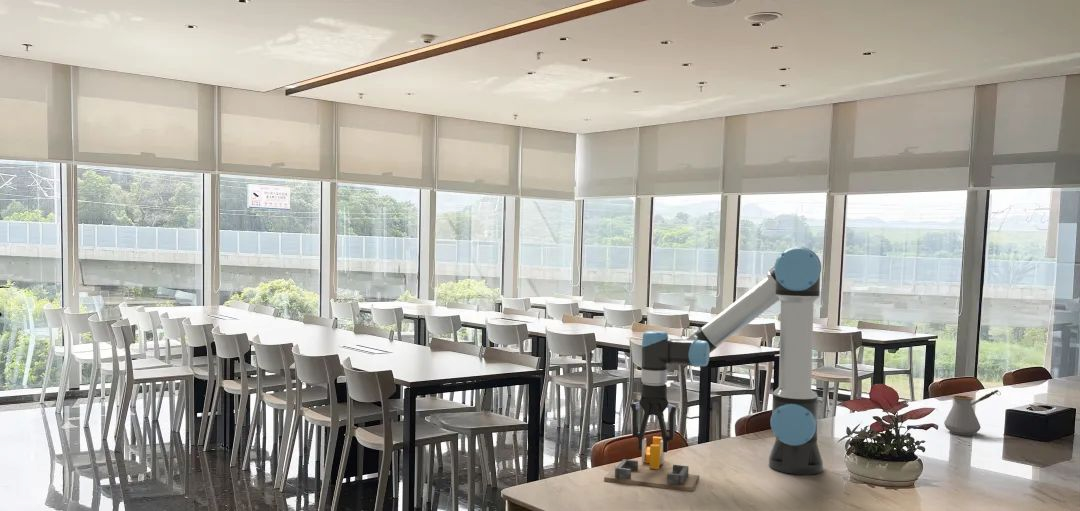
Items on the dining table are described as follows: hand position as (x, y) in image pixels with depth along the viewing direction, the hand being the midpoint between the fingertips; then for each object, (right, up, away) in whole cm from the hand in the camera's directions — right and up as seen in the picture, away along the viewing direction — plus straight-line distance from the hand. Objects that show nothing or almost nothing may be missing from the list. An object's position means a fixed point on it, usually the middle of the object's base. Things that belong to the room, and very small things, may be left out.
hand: (653, 461), depth 234 cm
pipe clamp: (0, -1, 0) cm, 1 cm away
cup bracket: (-3, -1, -17) cm, 17 cm away
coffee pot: (+122, -2, +49) cm, 131 cm away
